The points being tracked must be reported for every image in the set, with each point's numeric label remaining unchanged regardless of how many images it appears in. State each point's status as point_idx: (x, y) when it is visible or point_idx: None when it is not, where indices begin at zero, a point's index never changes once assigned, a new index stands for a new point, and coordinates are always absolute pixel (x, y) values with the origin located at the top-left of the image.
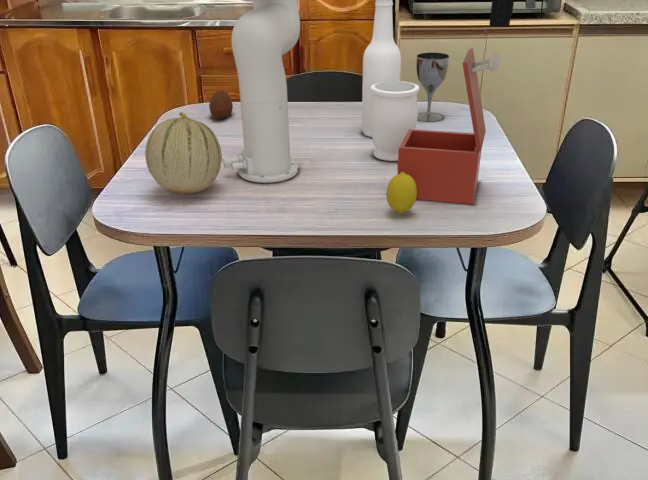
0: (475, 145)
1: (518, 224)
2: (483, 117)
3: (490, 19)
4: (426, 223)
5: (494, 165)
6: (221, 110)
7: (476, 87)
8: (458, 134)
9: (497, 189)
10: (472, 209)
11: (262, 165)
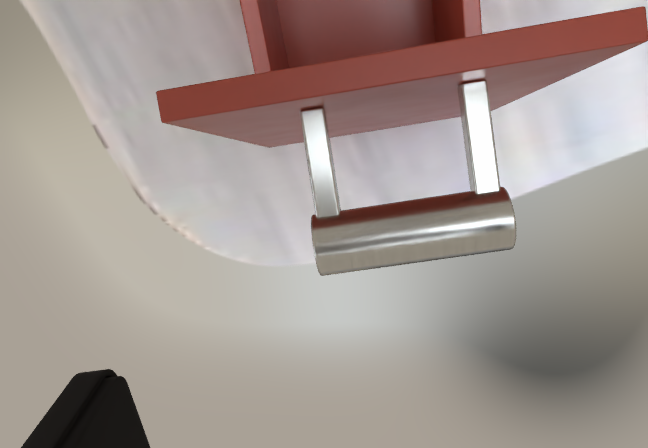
0: None
1: (217, 234)
2: (494, 107)
3: (56, 408)
4: (114, 27)
5: (607, 95)
6: None
7: (436, 102)
8: (461, 10)
9: (414, 146)
10: None
11: None
